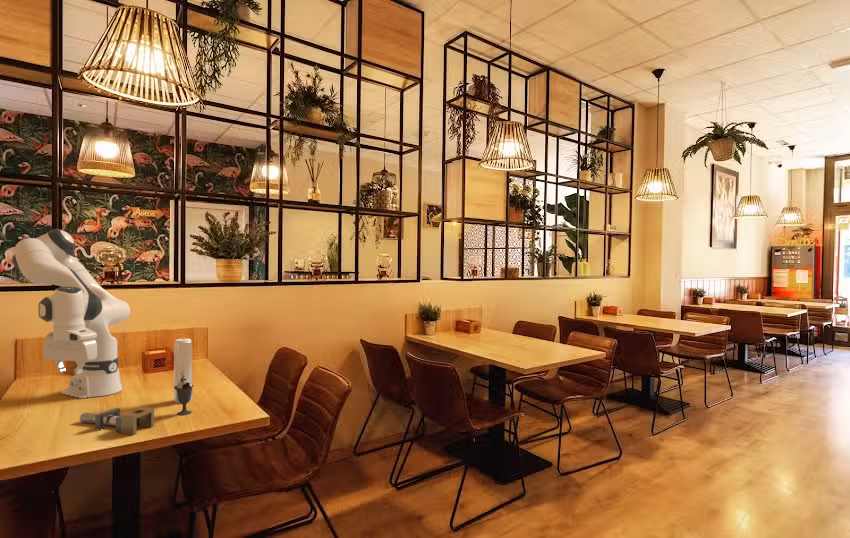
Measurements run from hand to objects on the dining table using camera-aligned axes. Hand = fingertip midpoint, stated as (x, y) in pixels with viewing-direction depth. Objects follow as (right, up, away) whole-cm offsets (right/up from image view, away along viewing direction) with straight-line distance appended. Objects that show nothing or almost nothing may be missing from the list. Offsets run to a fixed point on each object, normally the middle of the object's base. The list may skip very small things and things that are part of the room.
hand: (69, 372), depth 162 cm
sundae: (+35, -18, +10) cm, 40 cm away
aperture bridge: (+28, -18, -7) cm, 34 cm away
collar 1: (+16, -18, -4) cm, 24 cm away
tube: (+13, -17, -3) cm, 22 cm away
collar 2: (+24, -18, -6) cm, 30 cm away
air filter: (+27, -17, +25) cm, 40 cm away
